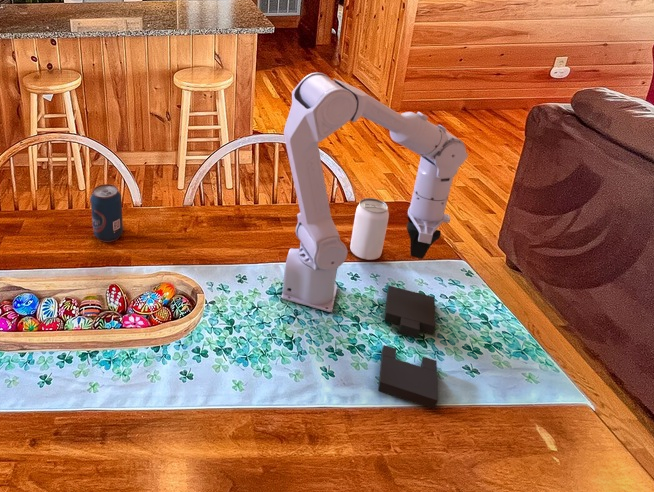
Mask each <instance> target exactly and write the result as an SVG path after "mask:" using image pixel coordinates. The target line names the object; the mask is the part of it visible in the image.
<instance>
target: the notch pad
mask: <svg viewBox="0 0 654 492" xmlns="http://www.w3.org/2000/svg"><path fill="white" fill-rule="evenodd" d="M437 363H438V362H437V360H436V359H433V358H429V357H425V356H422V359H421V362H420V365H417V364H414V363H410V362H407V361H404V360H401V359H397V348H395V347H392V346H388V345H385V344H383V345H382V349H381V355H380V364H379V366H380V367H379V376H378V377H379V378H378V388H377V391H378V392H381V393H383V394H387V395H390V396H393V397H396V398H399V399H403V400H405V401H408V402H411V403H414V404H417V405H419V406H423V407H426V408H429V409H432V410H436V408H437V404H438V401H439V397H438V394H439V393H438V364H437Z"/></svg>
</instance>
